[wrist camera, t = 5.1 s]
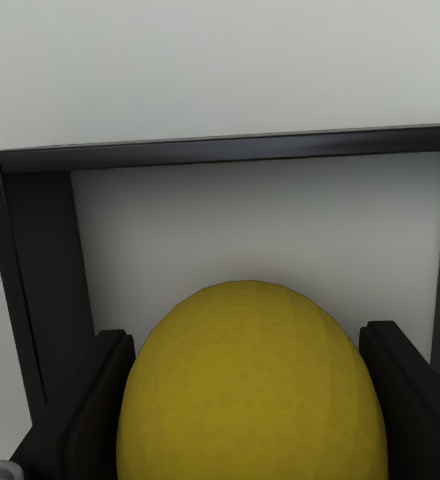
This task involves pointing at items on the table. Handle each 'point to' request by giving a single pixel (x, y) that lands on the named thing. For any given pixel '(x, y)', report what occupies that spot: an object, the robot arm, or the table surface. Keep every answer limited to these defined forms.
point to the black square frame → (67, 238)
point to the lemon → (250, 394)
